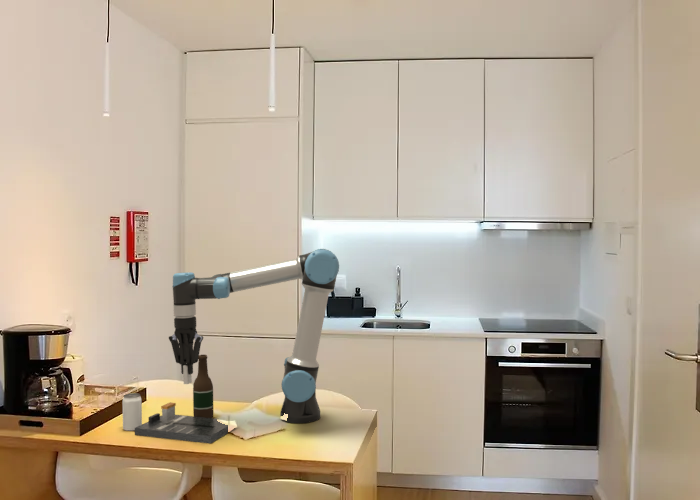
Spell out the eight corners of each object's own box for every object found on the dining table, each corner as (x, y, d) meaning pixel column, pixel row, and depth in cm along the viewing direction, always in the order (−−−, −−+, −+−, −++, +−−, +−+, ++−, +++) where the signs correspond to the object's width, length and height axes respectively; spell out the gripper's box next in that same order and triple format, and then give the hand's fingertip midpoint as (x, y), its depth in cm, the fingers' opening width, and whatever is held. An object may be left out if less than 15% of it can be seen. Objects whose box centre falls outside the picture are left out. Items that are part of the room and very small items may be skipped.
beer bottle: (216, 415, 239) (215, 353, 239) (210, 421, 231) (209, 357, 231) (197, 415, 240) (196, 353, 239) (189, 421, 232) (188, 357, 232)
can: (135, 431, 220) (135, 398, 220) (119, 430, 222) (118, 397, 221) (145, 426, 227) (144, 393, 226) (129, 425, 228) (128, 392, 228)
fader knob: (175, 419, 225) (175, 402, 225) (167, 423, 220) (167, 406, 220) (170, 418, 225) (169, 402, 225) (161, 422, 221) (161, 406, 220)
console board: (237, 427, 224) (236, 415, 224) (210, 443, 207) (210, 430, 207) (165, 420, 234) (165, 408, 234) (134, 435, 217) (134, 422, 216)
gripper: (207, 315, 221) (209, 381, 221) (175, 314, 225) (178, 379, 226) (195, 318, 214) (197, 386, 214) (162, 317, 218) (165, 384, 218)
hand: (187, 383), depth 220 cm, fingers closed
